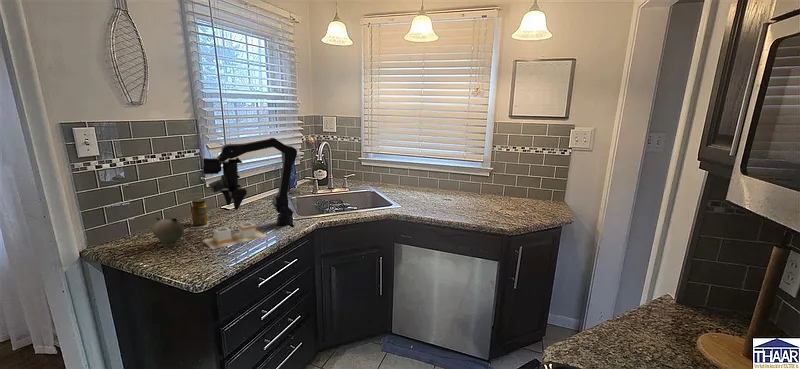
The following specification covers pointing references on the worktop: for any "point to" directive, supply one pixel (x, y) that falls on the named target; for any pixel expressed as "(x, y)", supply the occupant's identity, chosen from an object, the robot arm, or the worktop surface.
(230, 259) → the worktop surface
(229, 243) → the pin board
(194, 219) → the condiment
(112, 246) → the worktop surface
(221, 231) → the sleeve
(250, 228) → the seated sleeve
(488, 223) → the worktop surface
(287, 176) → the robot arm
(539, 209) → the worktop surface
